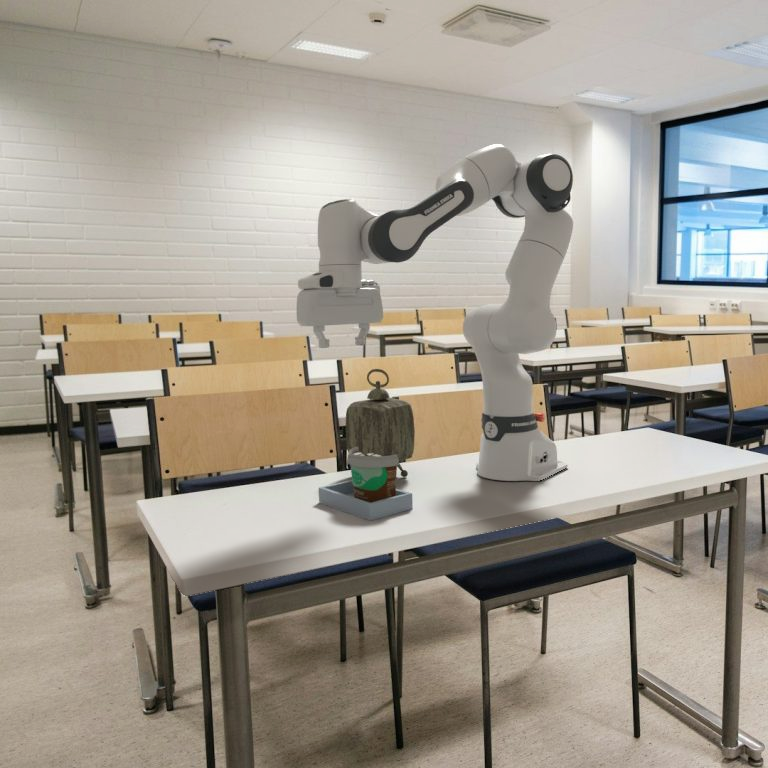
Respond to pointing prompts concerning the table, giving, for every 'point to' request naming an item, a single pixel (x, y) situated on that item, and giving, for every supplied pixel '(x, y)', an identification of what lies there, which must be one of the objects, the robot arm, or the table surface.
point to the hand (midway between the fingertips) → (342, 346)
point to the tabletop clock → (381, 424)
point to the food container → (372, 475)
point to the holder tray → (345, 501)
